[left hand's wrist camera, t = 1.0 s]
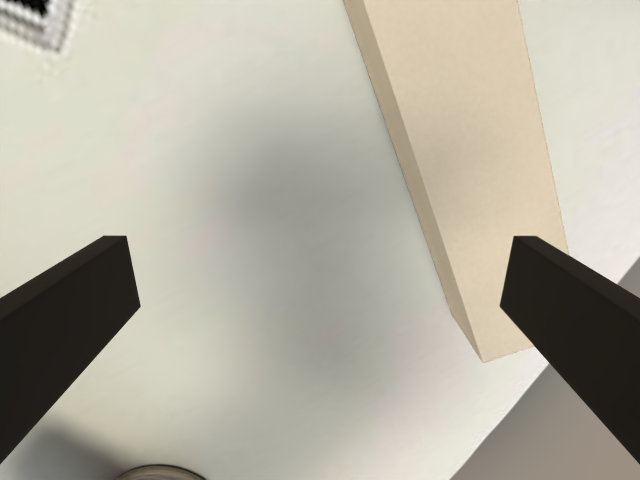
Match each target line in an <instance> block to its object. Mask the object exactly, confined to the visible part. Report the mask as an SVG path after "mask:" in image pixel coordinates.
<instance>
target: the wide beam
mask: <svg viewBox="0 0 640 480" xmlns="http://www.w3.org/2000/svg"><path fill="white" fill-rule="evenodd" d="M343 2H344V5H345V8H346V10H347V13H348V16H349V19H350V22H351V25H352V28H353V31H354V34H355V36H356V39H357V42H358V45H359V48H360V51H361V54H362V57H363V59H364V62H365V65H366V68H367V71H368V74H369V77H370V80H371V82H372V85H373V88H374V91H375V94H376V97H377V100H378V103H379V106H380V108H381V111H382V114H383V117H384V120H385V123H386V126H387V129H388V131H389V134H390V137H391V140H392V143H393V146H394V149H395V152H396V154H397V157H398V160H399V163H400V166H401V169H402V172H403V175H404V177H405V180H406V183H407V186H408V189H409V192H410V195H411V198H412V201H413V203H414V206H415V209H416V212H417V215H418V218H419V221H420V224H421V226H422V229H423V232H424V235H425V238H426V241H427V244H428V247H429V249H430V252H431V255H432V258H433V261H434V264H435V267H436V270H437V273H438V275H439V278H440V281H441V284H442V287H443V290H444V293H445V296H446V298H447V301H448V304H449V307H450V310H451V313H452V316H453V317H454V319H455V321H456V322H457V324H458V325H459V327H460V328H461V330H462V331H463V333H464V335H465V336H466V338H467V339H468V341H469V342H470V344H471V345H472V347H473V349H474V350H475V352H476V353H477V355H478V356H479V358H480V359H481V361H482V362H483V363H485V362H488V361H491V360H494V359H497V358H500V357H503V356H506V355H509V354H512V353H515V352H518V351H521V350H524V349H527V348H531V347H534V345H533V344H532V343H531V342H530V340H529V339H528V338H527V337H526V336H525V335H524V334H523V333H522V331H521V330H520V329H519V328H518V327H517V326H516V325H515V324H514V322H513V321H512V320H511V319H510V318H509V317H508V316H507V315H506V313H505V312H504V311H503V310H502V309H501V308H500V307H499V306H500V301H501V296H502V291H503V286H504V281H505V276H506V271H507V266H508V261H509V256H510V251H511V246H512V241H513V237H514V236H538V237H539V238H541V239H542V240H544V241H546V242H547V243H549V244H551V245H552V246H554V247H556V248H557V249H559V250H561V251H562V252H564V253H566V254H567V255H569V252H568V248H567V243H566V238H565V233H564V228H563V223H562V218H561V213H560V208H559V203H558V198H557V193H556V188H555V183H554V179H553V174H552V169H551V164H550V159H549V154H548V149H547V144H546V139H545V134H544V129H543V124H542V119H541V114H540V109H539V105H538V100H537V95H536V90H535V85H534V80H533V75H532V70H531V65H530V60H529V55H528V50H527V45H526V40H525V36H524V31H523V26H522V21H521V16H520V11H519V6H518V1H517V0H343Z"/></svg>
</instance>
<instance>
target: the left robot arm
mask: <svg viewBox="0 0 640 480" xmlns="http://www.w3.org/2000/svg"><path fill="white" fill-rule="evenodd" d="M140 307H141V306H140V301H139V296H138V291H137V286H136V281H135V276H134V271H133V266H132V261H131V256H130V251H129V246H128V241H127V237H126V236H102V237H101V238H99V239H98V240H96V241H94V242H93V243H91V244H89V245H88V246H86V247H84V248H83V249H81V250H79V251H78V252H76V253H74V254H73V255H71V256H69V257H68V258H66V259H64V260H63V261H61V262H59V263H58V264H56V265H54V266H53V267H51V268H50V269H48V270H46V271H45V272H43V273H41V274H40V275H38V276H36V277H35V278H33V279H31V280H30V281H28V282H26V283H25V284H23V285H21V286H20V287H18V288H16V289H15V290H13V291H11V292H10V293H8V294H7V295H5V296H3V297H2V298H0V464H1V463H2V462H3V461H4V460H5V458H6V457H7V456H8V455H9V454H10V453H11V452H12V451H13V449H14V448H15V447H16V446H17V445H18V444H19V443H20V442H21V440H22V439H23V438H24V437H25V436H26V435H27V434H28V433H29V431H30V430H31V429H32V428H33V427H34V426H35V425H36V424H37V422H38V421H39V420H40V419H41V418H42V417H43V416H44V415H45V413H46V412H47V411H48V410H49V409H50V408H51V407H52V406H53V404H54V403H55V402H56V401H57V400H58V399H59V398H60V397H61V396H62V394H63V393H64V392H65V391H66V390H67V389H68V388H69V387H70V385H71V384H72V383H73V382H74V381H75V380H76V379H77V378H78V376H79V375H80V374H81V373H82V372H83V371H84V370H85V369H86V367H87V366H88V365H89V364H90V363H91V362H92V361H93V360H94V358H95V357H96V356H97V355H98V354H99V353H100V352H101V351H102V349H103V348H104V347H105V346H106V345H107V344H108V343H109V342H110V340H111V339H112V338H113V337H114V336H115V335H116V334H117V333H118V331H119V330H120V329H121V328H122V327H123V326H124V325H125V324H126V322H127V321H128V320H129V319H130V318H131V317H132V316H133V315H134V313H135V312H136V311H137V310H138V309H139V308H140ZM499 307H500V308H501V309H502V310H503V311H504V312H505V313H506V315H507V316H508V317H509V318H510V319H511V320H512V321H513V322H514V324H515V325H516V326H517V327H518V328H519V329H520V330H521V331H522V333H523V334H524V335H525V336H526V337H527V338H528V339H529V340H530V342H531V343H532V344H533V345H534V346H535V347H536V348H537V349H538V351H539V352H540V353H541V354H542V355H543V356H544V357H545V358H546V360H547V361H548V362H549V363H550V364H551V365H552V366H553V367H554V368H555V370H556V371H557V372H558V373H559V374H560V375H561V376H562V378H563V379H564V380H565V381H566V382H567V383H568V384H569V385H570V386H571V388H572V389H573V390H574V391H575V392H576V393H577V394H578V396H579V397H580V398H581V399H582V400H583V401H584V402H585V403H586V404H587V406H588V407H589V408H590V409H591V410H592V411H593V412H594V413H595V415H596V416H597V417H598V418H599V419H600V420H601V421H602V422H603V424H604V425H605V426H606V427H607V428H608V429H609V430H610V431H611V433H612V434H613V435H614V436H615V437H616V438H617V439H618V440H619V442H620V443H621V444H622V445H623V446H624V447H625V448H626V449H627V451H628V452H629V453H630V454H631V455H632V456H633V457H634V458H635V460H636V461H637V462H638V463H639V464H640V298H638V297H637V296H635V295H633V294H632V293H630V292H629V291H627V290H625V289H623V288H622V287H620V286H619V285H617V284H615V283H614V282H612V281H610V280H609V279H607V278H605V277H604V276H602V275H600V274H599V273H597V272H595V271H594V270H592V269H590V268H589V267H587V266H586V265H584V264H582V263H581V262H579V261H577V260H576V259H574V258H572V257H571V256H569V255H567V254H566V253H564V252H562V251H561V250H559V249H557V248H556V247H554V246H552V245H551V244H549V243H547V242H546V241H544V240H542V239H541V238H539V237H538V236H514V237H513V241H512V246H511V251H510V256H509V261H508V266H507V271H506V276H505V281H504V286H503V291H502V296H501V301H500V306H499ZM116 480H203V479H202V478H200V477H199V476H197V475H195V474H193V473H190V472H188V471H185V470H182V469H178V468H174V467H167V466H147V467H141V468H137V469H134V470H131V471H128V472H126V473H124V474H123V475H121V476H120V477H118V478H117V479H116Z"/></svg>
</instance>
